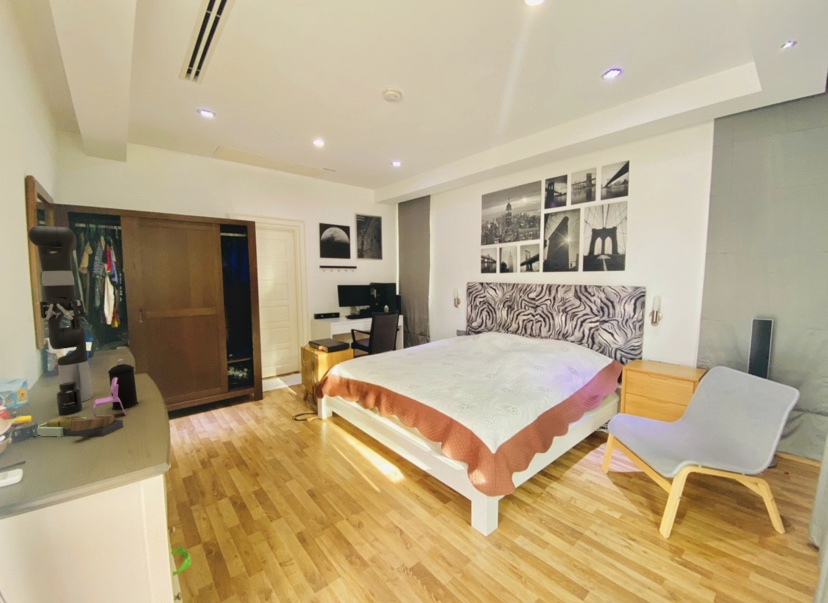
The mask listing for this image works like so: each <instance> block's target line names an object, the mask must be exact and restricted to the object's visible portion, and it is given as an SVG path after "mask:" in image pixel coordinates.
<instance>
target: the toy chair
mask: <svg viewBox="0 0 828 603" xmlns="http://www.w3.org/2000/svg"><path fill="white" fill-rule="evenodd" d="M116 383H117V378H113V379H112V384H111V387H110V388H109V389H110V394H111V393H113V396H112V395H111V396H108V397H102V398H97V399H94V402H93V406H92V410H93V416H94V418H96V416H97V415H96V408H97V407H100V406H103V405H106V404H107V405H108V404H113V403H112V402H120V404H121V407H122V409H123V406H122V403H121V401H120V399H119V398H118V384H116ZM122 412H123V414H124V415H125V416H124V417H126V415H127V413H126V411H125V409H123V410H122Z"/></svg>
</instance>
